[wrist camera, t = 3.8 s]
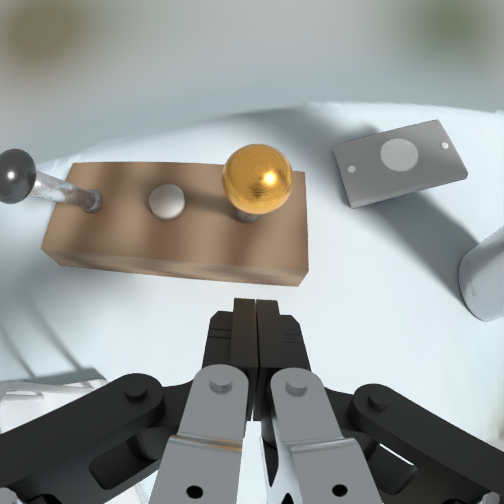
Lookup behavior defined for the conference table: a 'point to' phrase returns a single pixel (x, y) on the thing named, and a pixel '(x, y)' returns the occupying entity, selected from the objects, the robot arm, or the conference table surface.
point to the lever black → (40, 184)
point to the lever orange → (257, 181)
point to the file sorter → (44, 401)
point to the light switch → (398, 163)
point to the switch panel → (177, 226)
